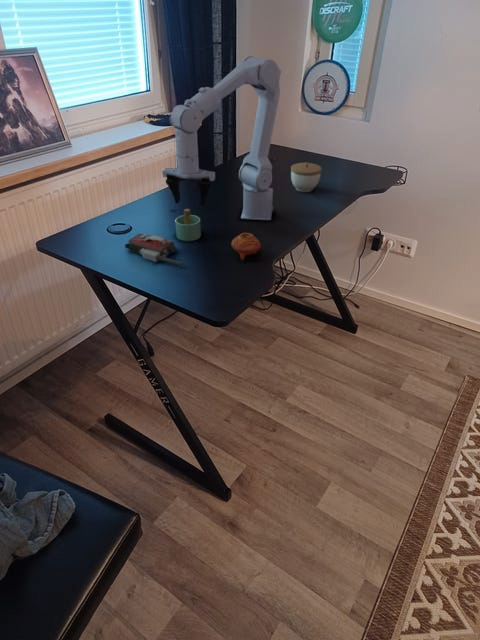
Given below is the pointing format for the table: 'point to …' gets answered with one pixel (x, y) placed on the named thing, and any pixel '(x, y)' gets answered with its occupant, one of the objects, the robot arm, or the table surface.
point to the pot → (245, 244)
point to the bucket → (188, 228)
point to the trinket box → (305, 176)
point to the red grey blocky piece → (152, 248)
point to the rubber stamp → (187, 217)
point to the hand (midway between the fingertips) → (190, 203)
